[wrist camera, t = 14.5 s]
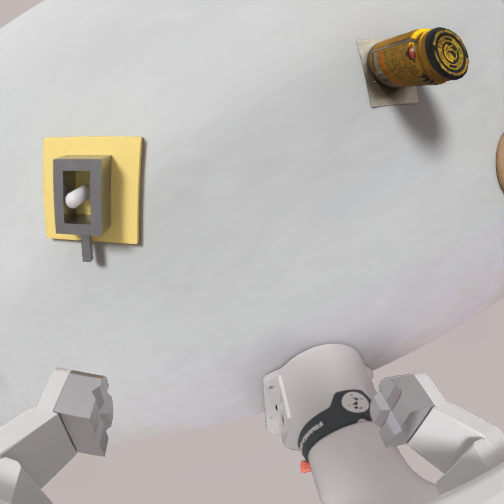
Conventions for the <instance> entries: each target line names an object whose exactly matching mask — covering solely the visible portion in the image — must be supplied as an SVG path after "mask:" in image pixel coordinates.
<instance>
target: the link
mask: <svg viewBox="0 0 504 504" xmlns="http://www.w3.org/2000/svg"><path fill="white" fill-rule="evenodd" d="M111 163H112V155H65V156H62V157H59V158H55V159H53V193H54V214H55V228H56V234H71V235H81V244H82V256H83V262H91V261H92V260H93V248H92V236H103V234H104V233H105V232H106V231H107V230H108V229H109V228H110V226H111ZM76 171H90V213H91V215H88V214H76V208H70V207H68V206H67V204H66V196H67V195H68V194H69V193H70V192H72V191H74V190H76Z"/></svg>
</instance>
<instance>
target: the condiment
mask: <svg viewBox="0 0 504 504" xmlns="http://www.w3.org/2000/svg"><path fill="white" fill-rule="evenodd" d="M357 44H358V48H359V53H360V56H361V61H362V65H363V70H364V74H365V77H366V82H367V87H368V92H369V96H370V101H371V106H372V107H376V106H385V105H396V104H408V103H419V99H418V93H417V86H422V85H438V84H443V83H445V82H446V81H450V80H457V79H460V78H462V77H463V76H464V75H465V74H466V72H467V68H468V63H469V60H468V54H467V50H466V47H465V46H464V44H463V42H462V40H461V39H460V37H458V36H457V35H456V34H455V33H454V32H452V31H451V30H449V29H446V28H441V27H440V28H434V29H423V28H422V29H417V30H413V31H411V32H408V33H405V34H402V35H399V36H396V37H393V38H390V39H359V40H357ZM374 81H375V82H374ZM402 87H403V90H402Z"/></svg>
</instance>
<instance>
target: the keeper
mask: <svg viewBox="0 0 504 504" xmlns="http://www.w3.org/2000/svg"><path fill="white" fill-rule="evenodd" d="M142 141H143V137H124V136H89V137H55V138H44V143H43V186H44V208H45V222H46V234H47V238H54V239H68V240H81V235H71V234H56V228H55V214H54V193H53V159H55V158H59V157H62V156H65V155H112V163H111V226H110V228H109V229H108V230H107V231H106V232H105V233H104V234H103V236H92V241H97V242H112V243H127V244H138V242H139V198H140V173H141V155H142ZM66 204H67V206H68V207H70V208H76V214H88V215H91V213H90V171H76V190H74V191H72V192H70V193H69V194H68V195H67V196H66Z"/></svg>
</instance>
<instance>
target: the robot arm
mask: <svg viewBox="0 0 504 504" xmlns="http://www.w3.org/2000/svg"><path fill="white" fill-rule="evenodd" d="M372 378H373V372H372V370H371V369H370V368H369V367H368V366H366V365H364V363H363V361H362V358H361V356H360V354H359V353H358V352H357V351H356V350H355V349H354V348H352V347H350V346H347V345H343V344H324V345H320V346H316V347H313V348H310V349H308V350H306V351H304V352H302V353H300V354H298V355H297V356H295V357H294V358H292V359H291V360H290V361H289V362H288V363H287V364H285V365H284V366H283V367H282V368H280V369H278V370H276V371H273V372H271V373H269V374H267V375H266V376H264V378H263V380H262V381H263V395H264V408H265V422H266V429H267V432H268V433H270V434H274V435H278V436H281V437H282V441H283V444H284V446H285V447H287V448H288V449H291V450H297V451H300V452H301V454H302V456H304V458H305V461H301V466H300V467H301V471H302V472H303V473H306V472H310V471H312V474H313V477H314V481H315V484H316V487H317V491H318V494H319V498H320V501H321V502H322V503H323V504H504V434H503V433H502V431H501V430H500V429H499V428H497V427H495V426H493V425H491V424H489V423H488V422H486V421H484V420H482V419H480V418H478V417H476V416H475V415H473V414H471V413H469V412H467V411H465V410H463V409H462V408H460V407H458V406H456V405H454V404H452V403H447V402H446V400H445V399H444V398H443V396H442V395H441V393H440V392H439V391H438V389H437V388H436V387H435V385H434V384H433V382H432V381H431V380H430V378H429V377H428V376H427V374H425V373H423V372H418V373H413V374H406V375H399V376H393V377H387V378H384V379H383V380H382V381H381V383H380V385H379V389H380V391H379V392H378V393H377V392H376V390H375V387H374V385H373V383H372V380H371V379H372ZM108 387H109V385H108V381H107V377H105V376H100V375H95V374H89V373H84V372H78V371H73V370H67V369H62V368H58V367H57V368H56V369H55V370H54V371H53V372H52V374H51V376H50V379H49V381H48V383H47V385H46V387H45V389H44V391H43V394H42V396H41V398H40V400H39V403H38V405H37V407H36V408H35V407H31V408H29V409H28V410H26V411H25V412H23V413H21V414H20V415H18V416H17V417H15V418H14V419H12V420H11V421H9V422H8V423H6V424H4V425H3V426H1V427H0V504H53V503H52V502H51V500H50V499H49V498H48V497H47V496H46V495H45V494H44V493H43V492H42V491H41V488H42V487H43V486H44V485H45V484H46V483H48V481H50V480H51V479H52V478H53V477H54V476H55V475H56V474H57V473H58V472H59V471H60V470H61V469H62V468H63V467H64V466H65V465H66V464H67V463H68V462H69V461H70V460H71V459H72V458H73V457H74V456H75V455H76V454H77V452H80V453H86V454H91V455H97V456H105V452H106V447H107V443H108V436H107V433H106V430H107V429H108V428H110V427H111V424H112V419H113V402H112V397H111V396H110V395H109V394H108V393H107V390H108ZM406 443H408V444H407V445H408V446H410V447H411V448H412V449H413V450H415V451H416V452H417V453H418V454H420V455H421V456H422V457H424V458H425V459H426V460H427V461H429V462H430V463H431V464H432V465H434V466H435V467H436V468H438V469H439V470H440V471H441V472H443V473H444V475H443V476H442V477H441V478H440V479H439V480H438V481H437V483H436V484H434V483H432V482H429V481H427V480H425V479H424V478H422V477H421V476H419V475H418V474H417V473H416V472H414V471H413V470H412V469H411V468H410V466H409V465H408V464H407V462H406V461H405V459H404V458H403V456H402V455H401V453H400V452H399V450H398V449H397V447H396V446H398V445H402V444H406Z"/></svg>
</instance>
